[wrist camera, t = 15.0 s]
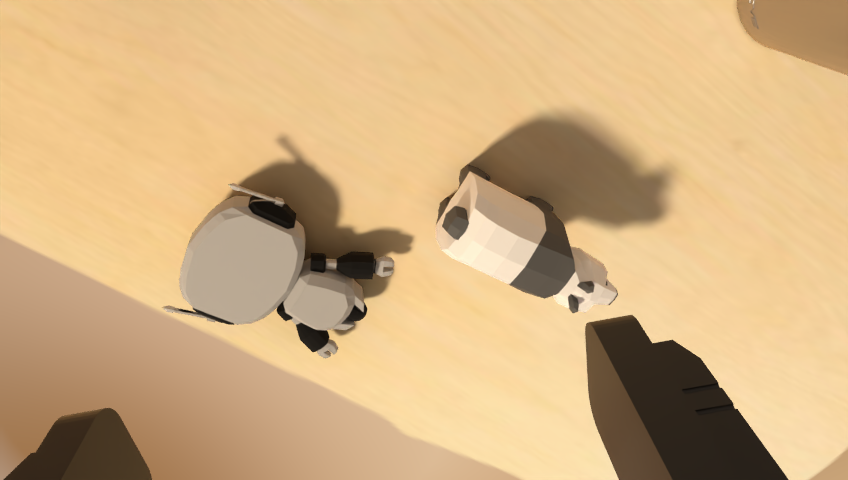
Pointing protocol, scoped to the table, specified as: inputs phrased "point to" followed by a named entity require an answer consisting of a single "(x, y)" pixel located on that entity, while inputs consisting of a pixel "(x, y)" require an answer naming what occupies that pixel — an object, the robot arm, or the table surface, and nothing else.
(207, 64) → the table surface
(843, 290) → the table surface
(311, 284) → the robot toy
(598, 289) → the giant panda
